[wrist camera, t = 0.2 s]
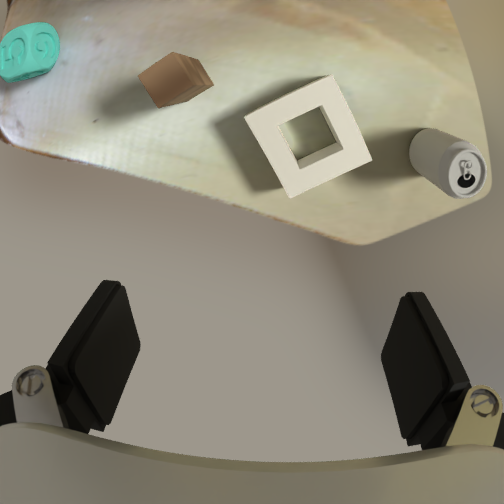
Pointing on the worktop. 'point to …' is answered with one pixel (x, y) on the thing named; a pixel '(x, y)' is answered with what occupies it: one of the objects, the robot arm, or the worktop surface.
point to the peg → (175, 79)
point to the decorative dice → (28, 51)
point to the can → (448, 162)
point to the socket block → (322, 161)
